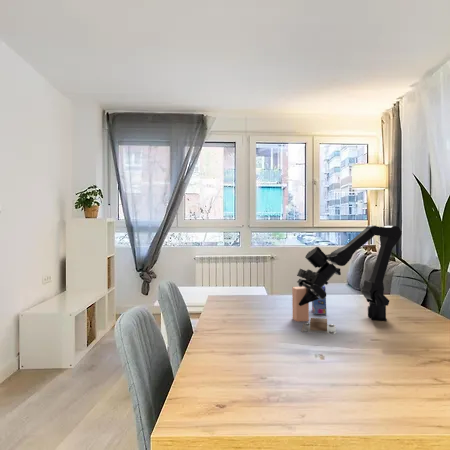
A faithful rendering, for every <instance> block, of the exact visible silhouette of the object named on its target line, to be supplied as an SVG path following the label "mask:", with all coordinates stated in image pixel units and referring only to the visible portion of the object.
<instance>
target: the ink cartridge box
mask: <svg viewBox="0 0 450 450" xmlns="http://www.w3.org/2000/svg"><path fill="white" fill-rule="evenodd" d="M322 289H323V290H324V291H325V292H326V291H327V290H326V286H325V285H324V286H323V287H322ZM326 293H327V292H326ZM318 298H319V299H317V300H315V301H312V302H311V309H312V313H313V314H314V315H327V296H326V297H325V298H324V299H323V300H322V299H320V296H319V297H318Z"/></svg>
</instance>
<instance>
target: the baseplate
mask: <svg viewBox="0 0 450 450" xmlns="http://www.w3.org/2000/svg"><path fill="white" fill-rule="evenodd" d="M336 325H337V324H333V323H329V324H327V331H319V330H310V322H303V324H302V328H301V331H300V332H302V333H311V334H312V333H314V334H329V335H330V334H332V335H336V334H337V331H336Z"/></svg>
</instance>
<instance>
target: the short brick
mask: <svg viewBox="0 0 450 450" xmlns="http://www.w3.org/2000/svg"><path fill="white" fill-rule="evenodd" d="M309 324H310V330H319V331H327V325H328V318H322V317H321V318H320V317H310V320H309Z"/></svg>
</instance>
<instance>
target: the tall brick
mask: <svg viewBox="0 0 450 450" xmlns="http://www.w3.org/2000/svg"><path fill="white" fill-rule="evenodd" d="M291 290H292V297H291V299H292V300H291V301H292V320H294V321H295V322H297V323H298V322H310V320H309V319H310V317H309V316H310V314H309V313H310V311H309V309H310V305H309V304H310V302H309V303H307V304H304V305H302V306H300V305H299V302H300V301H301V299H302V298H303V297H304V295H305V294H306V287H299V286H292V289H291Z"/></svg>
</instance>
